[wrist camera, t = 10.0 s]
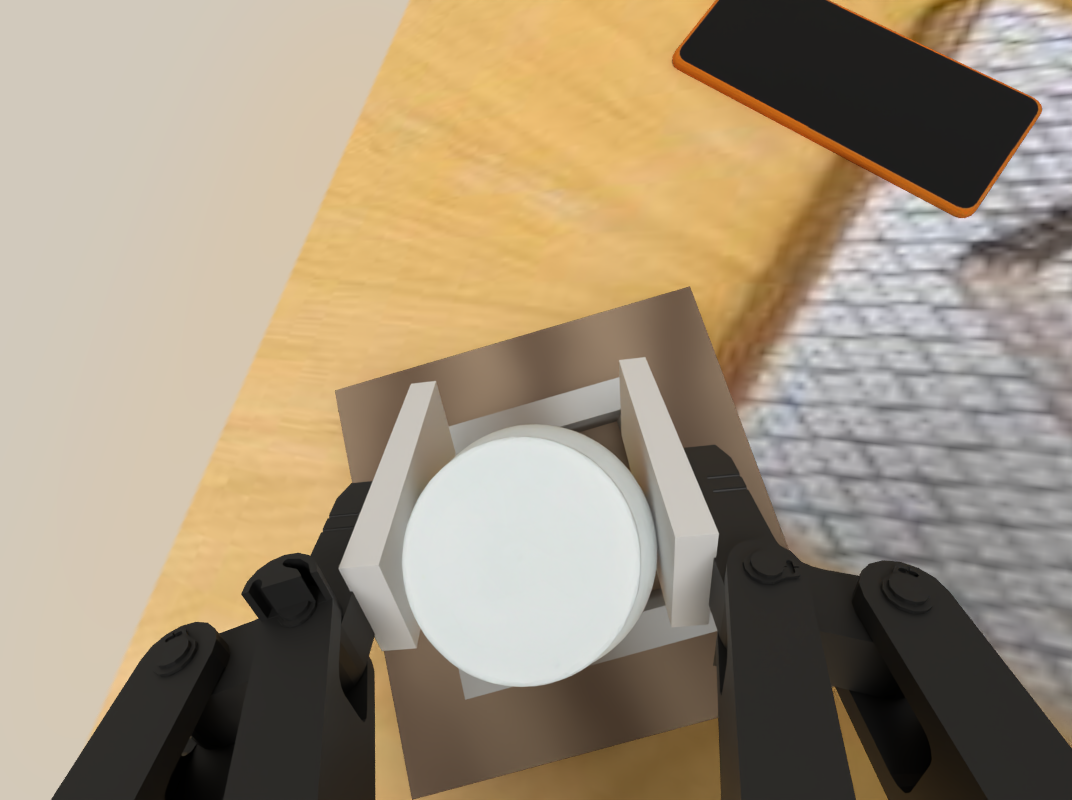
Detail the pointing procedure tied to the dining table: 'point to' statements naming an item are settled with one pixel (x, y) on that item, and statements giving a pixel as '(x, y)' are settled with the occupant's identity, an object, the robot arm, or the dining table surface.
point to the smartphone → (864, 94)
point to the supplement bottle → (529, 555)
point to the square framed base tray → (594, 410)
